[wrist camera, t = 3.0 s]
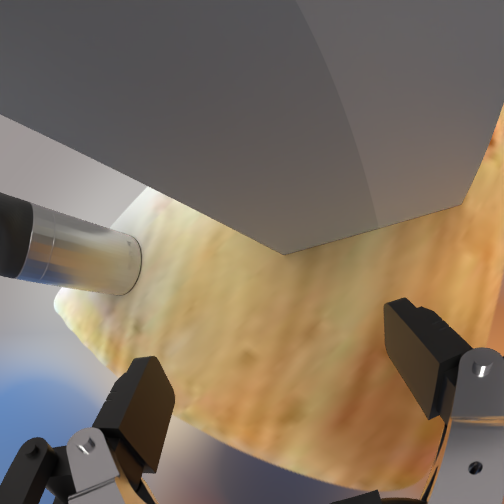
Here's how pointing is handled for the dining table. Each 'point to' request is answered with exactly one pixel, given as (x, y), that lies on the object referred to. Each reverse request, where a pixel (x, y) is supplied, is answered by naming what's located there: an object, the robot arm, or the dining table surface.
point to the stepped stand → (267, 103)
